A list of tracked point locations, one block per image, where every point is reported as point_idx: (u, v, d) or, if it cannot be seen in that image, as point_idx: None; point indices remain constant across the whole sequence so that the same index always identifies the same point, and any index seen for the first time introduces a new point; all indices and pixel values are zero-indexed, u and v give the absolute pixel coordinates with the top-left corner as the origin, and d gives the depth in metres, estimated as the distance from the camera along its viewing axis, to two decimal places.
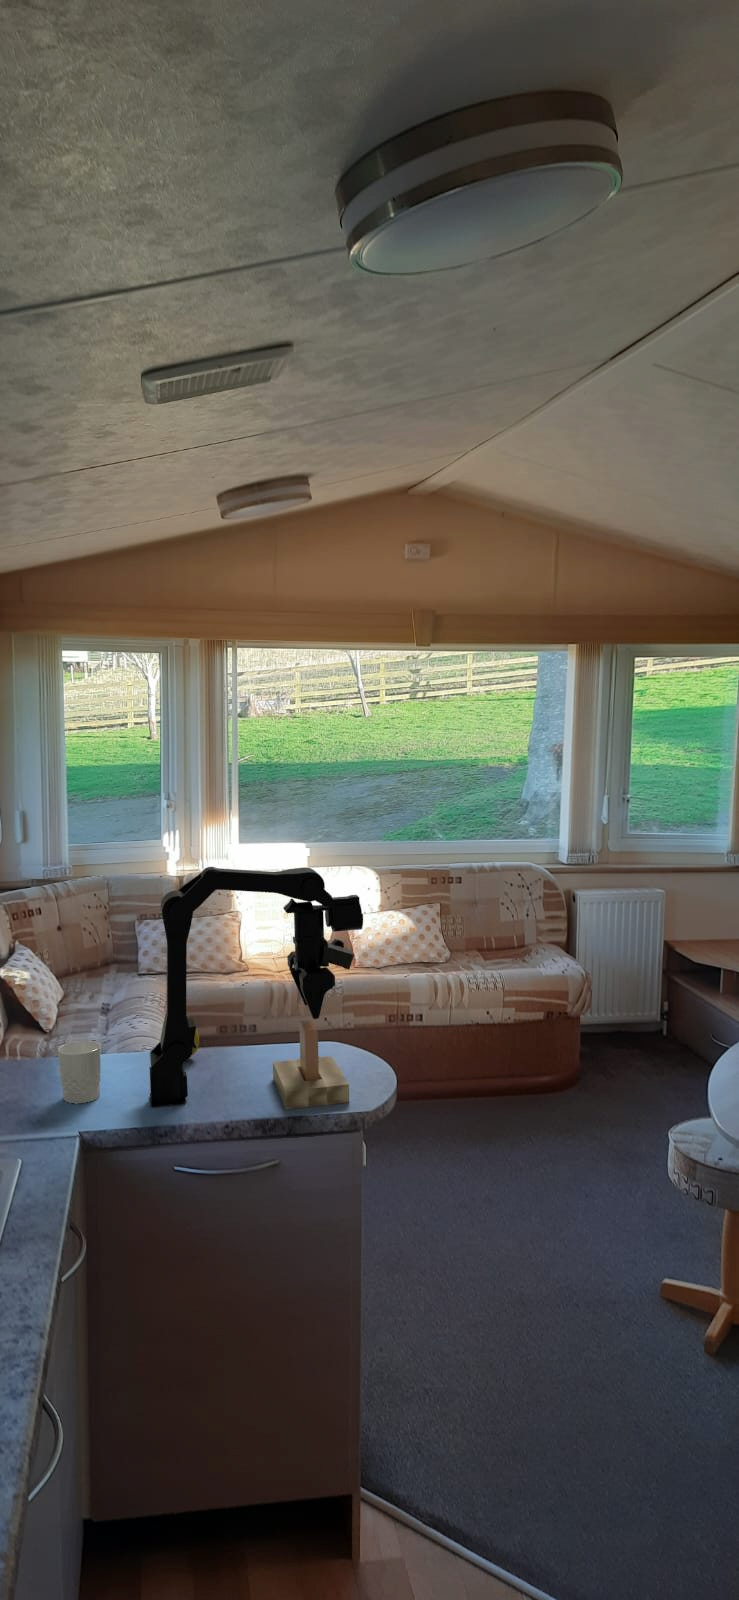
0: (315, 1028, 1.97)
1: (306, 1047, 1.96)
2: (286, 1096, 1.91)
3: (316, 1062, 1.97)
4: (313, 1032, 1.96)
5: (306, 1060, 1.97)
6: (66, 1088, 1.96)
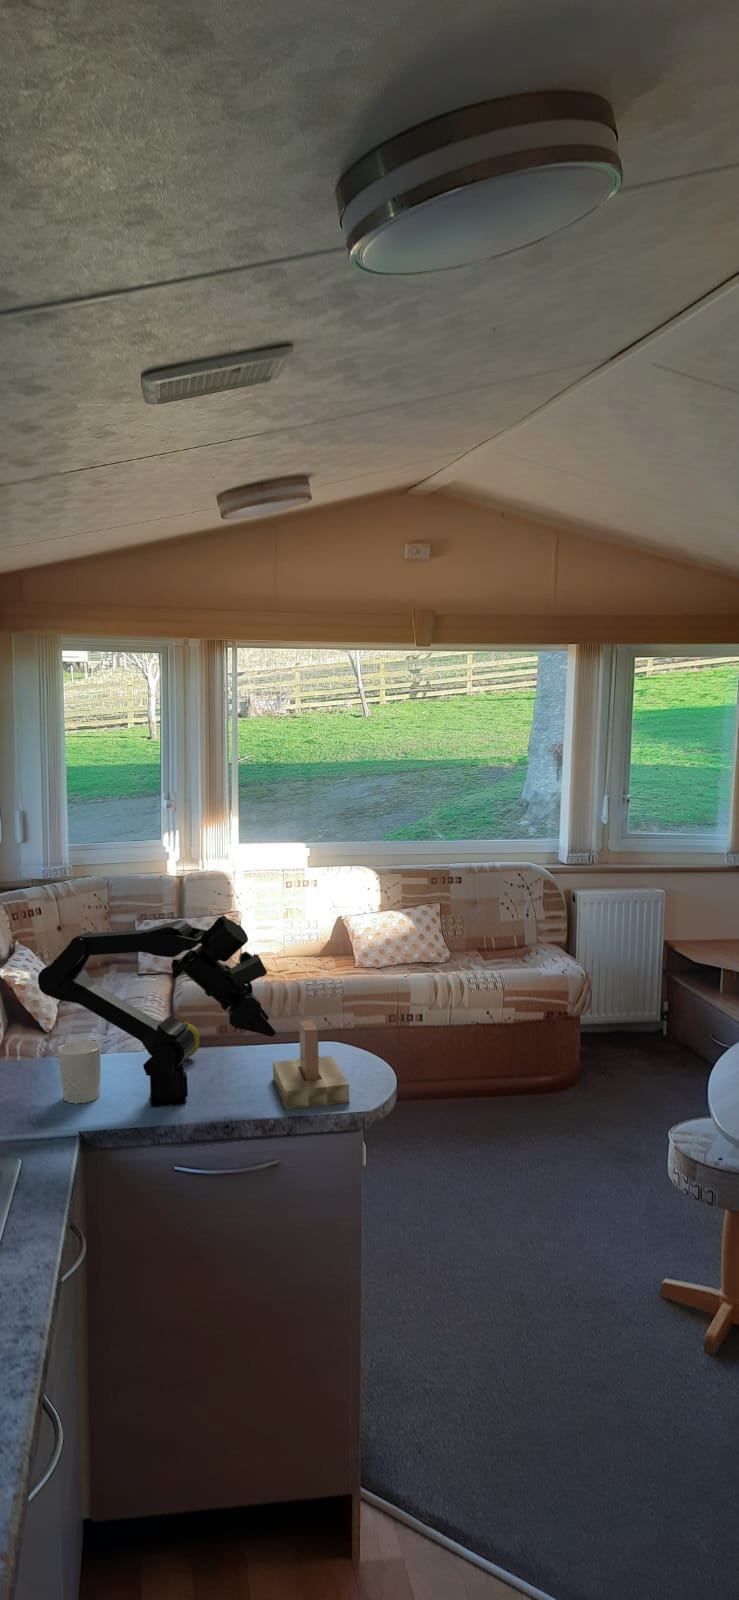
0: (315, 1028, 1.97)
1: (306, 1047, 1.96)
2: (286, 1096, 1.91)
3: (316, 1062, 1.97)
4: (313, 1032, 1.96)
5: (306, 1060, 1.97)
6: (66, 1088, 1.96)
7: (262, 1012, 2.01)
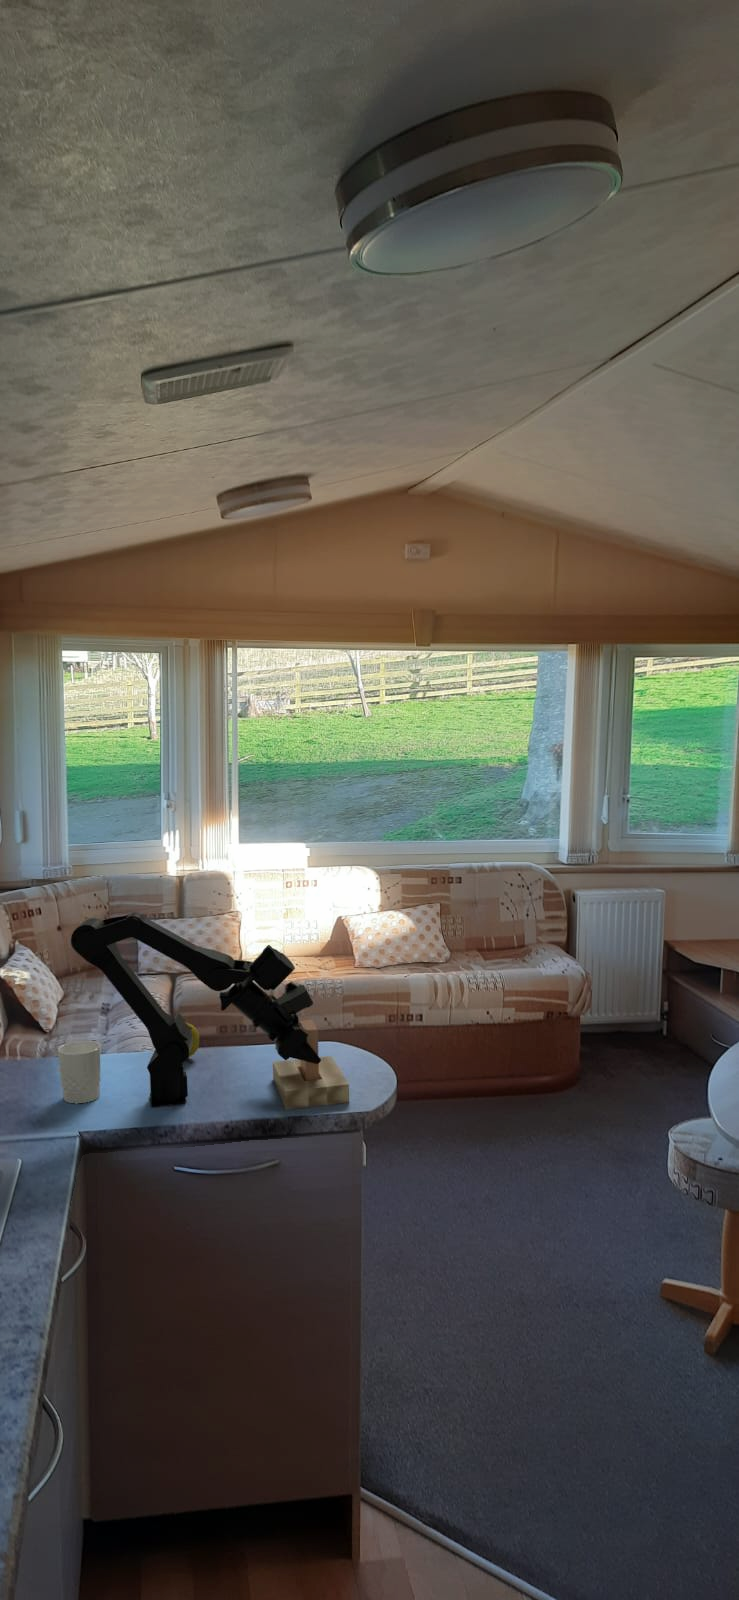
0: (315, 1028, 1.97)
1: None
2: (286, 1096, 1.91)
3: None
4: (313, 1032, 1.96)
5: None
6: (66, 1088, 1.96)
7: None
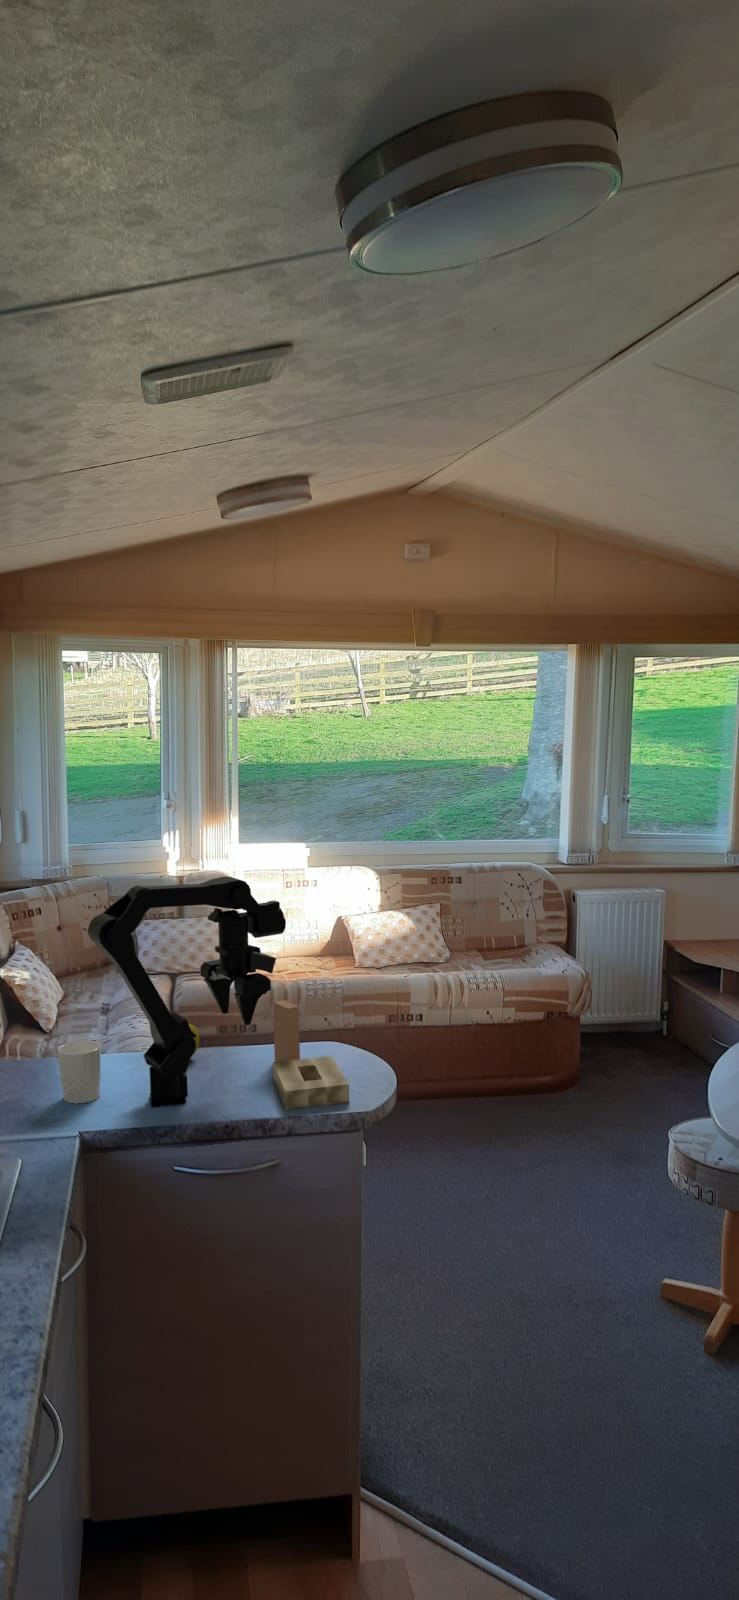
0: (295, 1005, 2.12)
1: (289, 1024, 2.10)
2: (286, 1096, 1.91)
3: (297, 1037, 2.12)
4: (295, 1009, 2.11)
5: (289, 1036, 2.11)
6: (66, 1088, 1.96)
7: (227, 1004, 2.07)
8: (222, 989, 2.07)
